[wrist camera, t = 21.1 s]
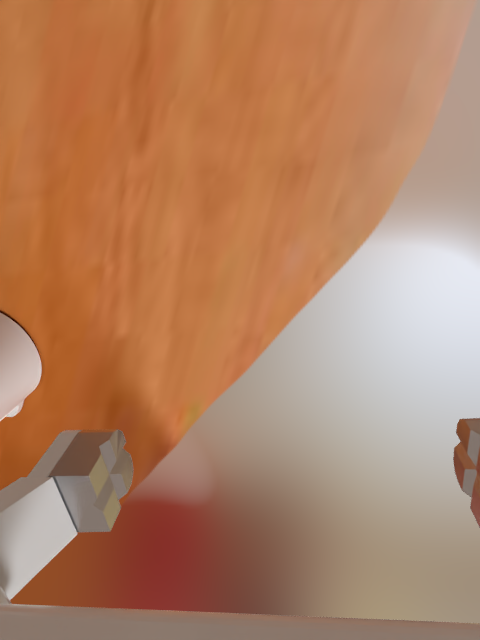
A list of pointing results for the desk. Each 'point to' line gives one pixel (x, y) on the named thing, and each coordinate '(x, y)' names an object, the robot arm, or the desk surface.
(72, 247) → the desk surface
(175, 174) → the desk surface
